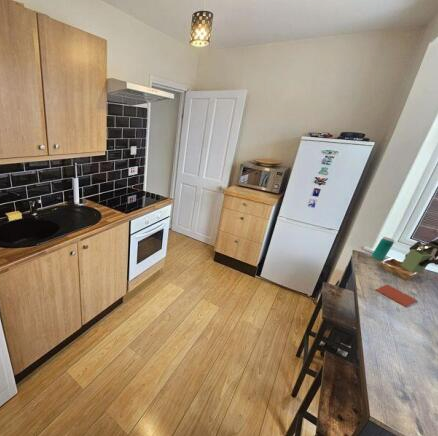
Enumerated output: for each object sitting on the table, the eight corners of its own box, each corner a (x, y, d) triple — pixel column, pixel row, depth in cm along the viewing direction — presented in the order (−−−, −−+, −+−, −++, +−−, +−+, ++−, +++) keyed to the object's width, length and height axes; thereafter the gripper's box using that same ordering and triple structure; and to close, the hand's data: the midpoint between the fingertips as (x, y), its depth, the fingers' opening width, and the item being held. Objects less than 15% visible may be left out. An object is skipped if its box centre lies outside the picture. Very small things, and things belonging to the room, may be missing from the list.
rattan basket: (418, 275, 136) (422, 271, 134) (407, 280, 130) (411, 275, 129) (389, 262, 147) (392, 257, 146) (377, 266, 142) (380, 261, 140)
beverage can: (384, 262, 146) (397, 242, 140) (373, 260, 148) (385, 240, 142) (379, 257, 151) (391, 238, 145) (369, 255, 153) (380, 236, 146)
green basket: (409, 266, 120) (420, 249, 115) (421, 272, 115) (434, 256, 110) (400, 265, 119) (410, 249, 115) (411, 272, 114) (423, 255, 110)
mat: (416, 300, 115) (417, 300, 115) (405, 306, 110) (406, 306, 110) (387, 285, 125) (387, 284, 125) (375, 290, 120) (375, 289, 120)
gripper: (430, 229, 116) (396, 249, 120) (467, 244, 103) (427, 265, 107) (433, 239, 118) (399, 257, 123) (469, 255, 105) (431, 275, 110)
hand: (413, 261), depth 115 cm, fingers closed on green basket, 5 cm apart
